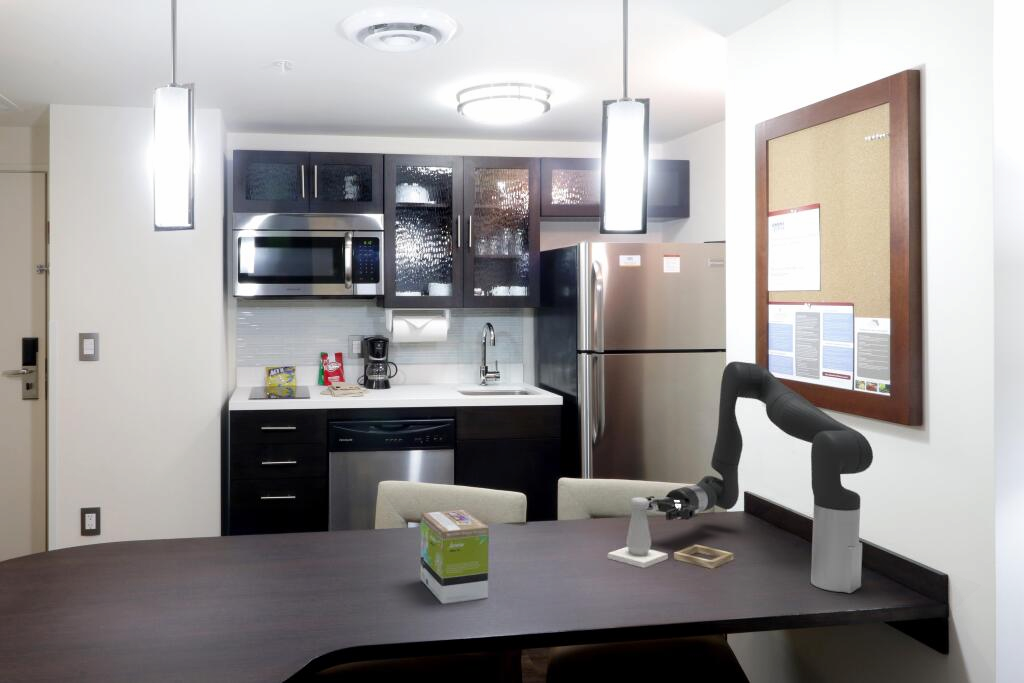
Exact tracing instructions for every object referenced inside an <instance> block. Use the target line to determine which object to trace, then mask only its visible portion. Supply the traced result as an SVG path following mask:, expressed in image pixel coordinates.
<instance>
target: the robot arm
mask: <svg viewBox="0 0 1024 683" xmlns="http://www.w3.org/2000/svg"><path fill="white" fill-rule="evenodd" d="M738 398H741V399H742V398H743V399H752V400H753V399H754V400H758V401H760V402H761V403H763V404H765V412H766V416H767V418H768V419H769V421H770V422H771V423H772V424H773V425H775V426H776V427H777V428H778V429H780V430H781V431H782V432H783V433H785V434H787V435H788V436H790V437H793V438H795V439H798V440H800V441H804V442H807V443H810V444H811V450H810V463H811V464H810V466H811V468H810V470H811V474H810V475H811V476H810V477H811V490H812V494H813V515H812V516H813V518H812V519H813V520H812V542H811V543H812V544H811V568H810V569H811V570H810V582H811V583H810V584H812V585H813V586H815V587H816V588H819V589H822V590H825V591H831V592H836V593H837V592H838V593H839V592H840V593H848V594H851V593H854V592H855V591H856V590H858V589H859V588H861V586H862V560H863V542H860V519H861V518H860V517H861V496H860V495H859V493H858V492H856V491H854V490H851V489H848V488H846V487H844V486H843V484H842V480H841V475H855V474H859V473H863V472H865V471H867V470H868V469H869V468H870V467H871V465H872V464H873V459H874V454H873V449H872V446H871V444H870V442H869V440H868V439H867V438H866V437H865V436H864V435H863V434H862V433H861V432H859V431H858V430H856V429H854V428H852V427H850V426H848V425H846V424H844V423H842V422H840V421H838V420H836V419H835V418H833V417H831V416H830V415H829V414H827V413H826V412H825V411H824V410H822V409H820V408H818V407H817V406H815V405H814V404H813V403H812V402H811V401H809V400H808V399H806V398H805V397H803V396H802V395H801V394H799V393H797V392H796V391H795V390H792V388H790V387H789V386H787V385H786V384H784V383H782V382H781V381H780V380H779V379H778V378H777V377H776V376H775V375H774V374H773V373H772V372H771V371H770V370H769V369H768V368H766V367H765V366H763V365H761V364H759V363H754V362H753V363H752V362H745V361H744V362H743V361H730V362H728V363H727V365H726V366H725V367H724V369H723V372H722V377H721V382H720V396H719V406H718V407H719V408H718V424H717V433H716V438H715V444H714V449H713V452H712V457H711V463H710V466H711V468H712V469H713V470H714V471H716V473H718V474H719V475H720V476H721V478H722V479H721V478H719V477H716V476H713V475H706V476H704V477H702V479H701V480H700V481H699V482H698V483H697V484H693V485H685V486H682V487H679V488H675V489H672V490H670V491H669V492H668V493H667V494H666V496H665V497H664V496H663V497H662V498H660V497H659V498H655V496H654V495H650V496H647V497H646V496H645V498H646V499H647V500H648V501H649V508H648V509H646V513H647V512H651V513H653V514H664V515H665V520H666V521H672V520H682V521H683V520H685V521H689V520H691V519H694V518H696V517H698V516H699V514H701V513H702V512H706V511H708V510H711V509H712V508H713V507H715V506H716V507H718V508H721V509H724V510H730V509H733V507H735V506H736V504H737V502H738V500H739V495H740V488H739V485H740V484H739V464H740V460H741V457H742V451H743V446H744V443H743V436H742V432H741V428H740V426H739V423H738V419H737V415H736V405H737V401H738ZM656 506H657V507H656ZM656 508H657V509H656Z"/></svg>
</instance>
